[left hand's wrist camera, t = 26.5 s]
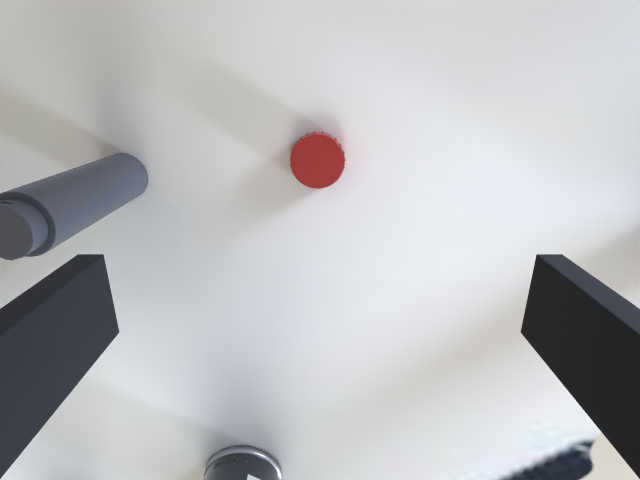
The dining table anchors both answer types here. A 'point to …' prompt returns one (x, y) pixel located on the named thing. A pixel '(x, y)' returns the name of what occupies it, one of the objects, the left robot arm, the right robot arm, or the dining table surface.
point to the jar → (66, 204)
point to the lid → (317, 160)
